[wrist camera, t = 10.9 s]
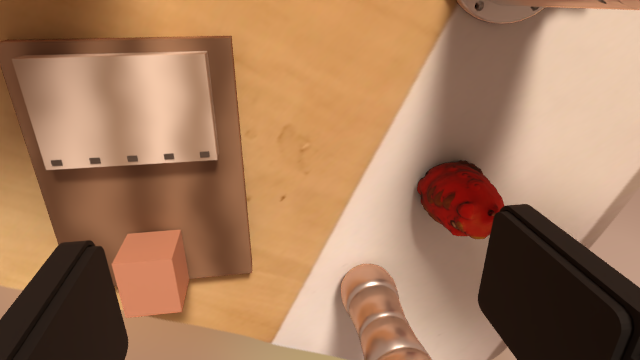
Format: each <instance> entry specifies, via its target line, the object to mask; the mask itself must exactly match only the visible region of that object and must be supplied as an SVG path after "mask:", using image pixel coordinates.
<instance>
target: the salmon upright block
mask: <svg viewBox="0 0 640 360" xmlns="http://www.w3.org/2000/svg"><path fill="white" fill-rule="evenodd" d="M112 268H113V272H114V276H115V279H116V283H117V287H118V291H119V294H120V298H121V302H122V306H123V309H124V313H125V317H126V318H129V317H139V316H149V315H158V314H167V313H176V312H182V309H183V305H184V300H185V296H186V291H187V287H188V282H189V273H188V268H187V262H186V256H185V250H184V245H183V239H182V233H181V229H180V230H167V231H155V232H143V233H131V234H127V236H126V238H125V240H124V242H123V244H122V245H121V247H120V249H119V251H118V253H117V255H116V257H115V259H114V261H113V263H112Z"/></svg>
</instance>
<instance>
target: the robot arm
mask: <svg viewBox="0 0 640 360" xmlns="http://www.w3.org/2000/svg"><path fill="white" fill-rule="evenodd" d="M456 1H457V2H458V4H459V5H460V6H461V7H462V8H463V9H464V10H465V11H466V12H467V13H469V14H470V15H472V16H474V17H475V18H477V19H480V20H483V21H486V22H491V23H498V24H501V23H514V22H518V21H522V20H524V19H527V18H529V17H531V16H533V15H535V14H537V13H538V12H540V11H541V10H543V9H544V8H545V7H562V8H592V9H621V10H640V0H456ZM475 4H477V6H476V8H475ZM478 303H479V306H480V309H481V311H482V312H483V314H484V315H485V316H486V318H487V319H488V320H489V322H490V323H491V324H492V326H493V327H494V329H495V330H496V331H497V333H498V334H499V335H500V337H501V338H502V339H503V341H504V342H505V344H506V345H507V346H508V348H509V349H510V350H511V352H512V353H513V354H514V356H515V357H516V358H517V360H640V288H639V287H638V286H636V285H635V284H633V283H632V282H631V281H630V280H629V279H627V278H626V277H624V276H623V275H622V274H621V273H619V272H618V271H616V270H615V269H614V268H612V267H611V266H610V265H609V264H607V263H606V262H604V261H603V260H602V259H600V258H599V257H598V256H596V255H595V254H594V253H593V252H591V251H590V250H589V249H587V248H586V247H585V246H583V245H582V244H581V243H579V242H578V241H577V240H575V239H574V238H573V237H571V236H570V235H569V234H567V233H566V232H565V231H563V230H562V229H561V228H559V227H558V226H557V225H555V224H554V223H553V222H551V221H550V220H549V219H547V218H546V217H545V216H543V215H542V214H541V213H539V212H538V211H537V210H535V209H534V208H533V207H531V206H530V205H528V204H522V205H509V206H504V207H502V208H501V209H500V211H499V212H497V213H496V214H495V215H494V218H493V223H492V228H491V233H490V238H489V243H488V248H487V254H486V259H485V264H484V269H483V274H482V279H481V284H480V289H479V294H478ZM127 349H128V337H127V333H126V329H125V325H124V322H123V318H122V314H121V310H120V307H119V303H118V299H117V296H116V292H115V288H114V284H113V281H112V277H111V273H110V270H109V266H108V262H107V259H106V255H105V252H104V249H103V247H102V246H95V244H94V243H93V241H91V240H86V241H74V242H63V243H60V244H59V245H58V246H57V248H56V249H55V250H54V252H53V253H52V254H51V255H50V257H49V258H48V259H47V261H46V262H45V263H44V264H43V266H42V267H41V268H40V270H39V271H38V272H37V273H36V275H35V276H34V277H33V279H32V280H31V281H30V282H29V284H28V285H27V286H26V287H25V289H24V290H23V291H22V293H21V294H20V295H19V296H18V298H17V299H16V300H15V302H14V303H13V304H12V305H11V307H10V308H9V309H8V311H7V312H6V313H5V314H4V316H3V317H2V318H1V320H0V360H124V359H125V356H126V353H127Z"/></svg>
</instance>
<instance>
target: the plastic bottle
mask: <svg viewBox="0 0 640 360" xmlns="http://www.w3.org/2000/svg"><path fill="white" fill-rule="evenodd" d="M341 297H342V302H343V305H344V307H345V309H346V311H347V312H348V314H349V316H350V317H351V319H352V321H353V323H354V326H355V328H356V330H357V333H358V335H359V338H360V342H361V346H362V350H363V354H364V359H365V360H432V359H431V357H430V356H429V354H428V353H427V352H426V350H425V349H424V347H423V346H422V344H421V343H420V342H419V340H418V339H417V337H416V336H415V334H414V332H413V330H412V329H411V327H410V325H409V323H408V321H407V320H406V318H405V315H404V312H403V309H402V306H401V304H400V301H399V296H398V291H397V288H396V285H395V282H394V280H393V278H392V277H391V276H390V275H389V273H388V272H387V271H386V270H385V269H384V268H382V267H380V266H378V265H374V264H361V265H358V266H356V267H354V268H352V269H351V270H350V271H349V272H348V273H347V274H346V276H345V277H344V279H343V281H342V284H341Z"/></svg>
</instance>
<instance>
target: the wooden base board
mask: <svg viewBox="0 0 640 360" xmlns="http://www.w3.org/2000/svg"><path fill="white" fill-rule="evenodd" d="M0 66H1V69H2V72H3V75H4V78H5V81H6V84H7V87H8V90H9V94H10V97H11V100H12V103H13V106H14V109H15V112H16V115H17V118H18V121H19V124H20V127H21V130H22V134H23V137H24V140H25V143H26V146H27V149H28V152H29V155H30V158H31V161H32V164H33V167H34V170H35V174H36V177H37V180H38V183H39V186H40V189H41V192H42V195H43V198H44V201H45V204H46V207H47V211H48V214H49V217H50V220H51V223H52V226H53V229H54V232H55V235H56V238H57V241H58V244H60V243H63V242H74V241H86V240H91V241H93V243H94V244H95V246H102V247H103V249H104V252H105V255H106V259H107V262H108V266H109V270H110V273H111V277H112V281H113V284H114V286H117V283H116V279H115V276H114V272H113V268H112V263H113V261H114V259H115V257H116V255H117V253H118V251H119V249H120V247H121V245H122V244H123V242H124V240H125V238H126V236H127V234H131V233H143V232H155V231H167V230H180V229H181V233H182V239H183V245H184V250H185V256H186V262H187V268H188V273H189V279H194V278H204V277H214V276H224V275H234V274H245V273H252V256H251V245H250V234H249V223H248V212H247V201H246V190H245V179H244V168H243V157H242V146H241V135H240V124H239V113H238V102H237V91H236V80H235V69H234V58H233V47H232V36H200V37H147V38H94V39H42V40H5V41H0Z"/></svg>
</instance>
